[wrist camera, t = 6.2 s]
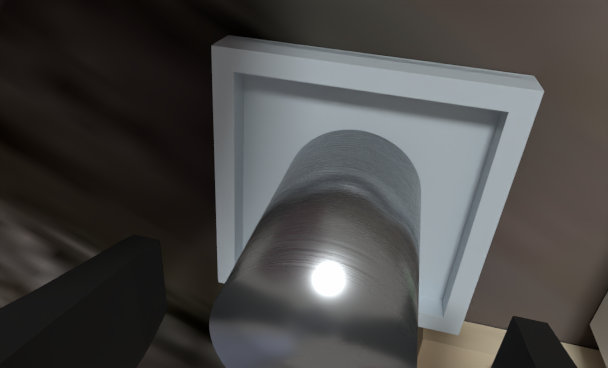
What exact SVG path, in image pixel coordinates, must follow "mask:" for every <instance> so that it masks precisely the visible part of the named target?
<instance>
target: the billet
mask: <svg viewBox="0 0 608 368" xmlns="http://www.w3.org/2000/svg"><path fill="white" fill-rule="evenodd" d="M420 223H421V185H420V179H419V176H418V173H417V171H416V169H415V167H414V165H413V163H412V162H411V160H410V159H409V158H408V156H407V155H406V154H405V153H404V152H403V151H402V150H401V149H400V148H399V147H397V146H396V145H395V144H393V143H392V142H390V141H389V140H387V139H385V138H383V137H381V136H379V135H376V134H373V133H370V132H366V131H361V130H337V131H332V132H328V133H325V134H322V135H320V136H318V137H316V138H314V139H313V140H311V141H309V142H308V143H307V144H306V145H304V146H303V147H302V148H301V149H300V151H299V152H298V153H297V154H296V156H295V157H294V159H293V161H292V162H291V164H290V166H289V168H288V170H287V171H286V173H285V175H284V177H283V179H282V181H281V182H280V184H279V186H278V188H277V190H276V191H275V193H274V195H273V197H272V199H271V200H270V202H269V204H268V206H267V208H266V210H265V211H264V213H263V215H262V217H261V219H260V220H259V222H258V224H257V226H256V228H255V230H254V231H253V233H252V235H251V237H250V239H249V240H248V242H247V244H246V246H245V248H244V249H243V251H242V253H241V255H240V257H239V259H238V260H237V262H236V264H235V266H234V268H233V269H232V271H231V273H230V275H229V277H228V278H227V280H226V282H225V284H224V286H223V288H222V289H221V291H220V293H219V295H218V297H217V298H216V300H215V303H214V305H213V307H212V310H211V314H210V321H209V329H210V336H211V340H212V343H213V346H214V348H215V351H216V353H217V355H218V356H219V358H220V360H221V361H222V363H223V364H224V366H225V367H226V368H417V349H418V307H419V265H420Z"/></svg>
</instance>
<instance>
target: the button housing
mask: <svg viewBox="0 0 608 368" xmlns="http://www.w3.org/2000/svg"><path fill="white" fill-rule="evenodd" d="M590 327H591V329H592V332H593V334H594V337H595V340H596V342H597V345H598V347H599V350H600V352H601V355H602V357H603V360H604V362H605V365H606V367H607V368H608V292H607V294H606V295H605V297H604V299H603V301H602V303H601V304H600V306H599V308H598V310H597V312H596V314H595V315H594V317H593V319H592V321H591V323H590Z"/></svg>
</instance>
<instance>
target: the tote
mask: <svg viewBox="0 0 608 368" xmlns="http://www.w3.org/2000/svg"><path fill="white" fill-rule="evenodd" d="M211 55H212V90H213V124H214V159H215V194H216V228H217V263H218V282H220V283H224V284H225V282H226V280H227V278H228V277H229V275H230V273H231V271H232V269H233V268H234V266H235V264H236V262H237V260H238V259H239V257H240V255H241V253H242V251H243V249H244V248H245V246H246V244H247V242H248V240H249V239H250V237H251V235H252V233H253V231H254V230H255V228H256V226H257V224H258V222H259V220H260V219H261V217H262V215H263V213H264V211H265V210H266V208H267V206H268V204H269V202H270V200H271V199H272V197H273V195H274V193H275V191H276V190H277V188H278V186H279V184H280V182H281V181H282V179H283V177H284V175H285V173H286V171H287V170H288V168H289V166H290V164H291V162H292V161H293V159H294V157H295V156H296V154H297V153H298V152H299V151H300V149H301V148H302V147H303V146H304V145H306V144H307V143H308V142H309V141H311V140H313V139H314V138H316V137H318V136H320V135H322V134H325V133H328V132H332V131H337V130H361V131H366V132H370V133H373V134H376V135H379V136H381V137H383V138H385V139H387V140H389V141H390V142H392V143H393V144H395V145H396V146H397V147H399V148H400V149H401V150H402V151H403V152H404V153H405V154H406V155H407V156H408V158H409V159H410V160H411V162H412V163H413V165H414V167H415V169H416V171H417V173H418V176H419V179H420V185H421V223H420V265H419V307H418V327H423V328H427V329H432V330H436V331H441V332H445V333H450V334H454V335H459V333H460V330H461V327H462V324H463V321H464V318H465V315H466V313H467V310H468V307H469V304H470V301H471V298H472V296H473V293H474V290H475V287H476V284H477V281H478V278H479V276H480V273H481V270H482V267H483V264H484V261H485V259H486V256H487V253H488V250H489V247H490V244H491V241H492V239H493V236H494V233H495V230H496V227H497V224H498V222H499V219H500V216H501V213H502V210H503V207H504V204H505V202H506V199H507V196H508V193H509V190H510V187H511V185H512V182H513V179H514V176H515V173H516V170H517V167H518V165H519V162H520V159H521V156H522V153H523V150H524V148H525V145H526V142H527V139H528V136H529V133H530V130H531V128H532V125H533V122H534V119H535V116H536V113H537V111H538V108H539V105H540V102H541V99H542V96H543V93H544V90H543V89H542V87H541V86H540V84H539V83H538V81H537V80H536V78H535V77H534V76H531V75H524V74H516V73H509V72H501V71H494V70H486V69H479V68H471V67H464V66H456V65H449V64H441V63H434V62H426V61H419V60H411V59H404V58H396V57H389V56H381V55H374V54H366V53H359V52H351V51H344V50H336V49H329V48H321V47H314V46H306V45H299V44H292V43H284V42H277V41H269V40H262V39H254V38H247V37H239V36H232V35H228V36H226V37H224V38H223V39H221V40H219V41H218V42H216V43H214V44H213V45H211Z"/></svg>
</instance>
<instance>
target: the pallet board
mask: <svg viewBox="0 0 608 368" xmlns="http://www.w3.org/2000/svg"><path fill="white" fill-rule="evenodd" d="M506 331H507V330H502V329H498V328H493V327H489V326H484V325H479V324H475V323H470V322H466V321H463V324H462V327H461V330H460V333H459V335H454V334H450V333H445V332H441V331H436V330H432V329H427V328H423V327H419V329H418V349H417V368H491V366H492V364H493V361H494V359H495V357H496V354H497V352H498V350H499V347H500V345H501V343H502V340H503V338H504V336H505V333H506ZM561 344H562V345H563V347H564V348H565V350H566V351H567V353H568V354H569V356H570V357H571V359H572V360H573V362H574V363H575V364H576V366H577V367H578V368H607V367H606V365H605V362H604V360H603V357H602V355H601V352H600V351H599V350H595V349H590V348H586V347H581V346H576V345H572V344H567V343H562V342H561Z"/></svg>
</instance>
